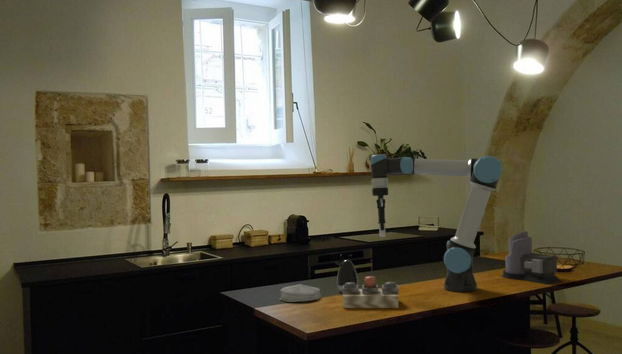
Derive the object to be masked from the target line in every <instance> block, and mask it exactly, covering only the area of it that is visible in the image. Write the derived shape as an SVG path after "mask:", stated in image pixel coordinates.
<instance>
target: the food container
mask: <svg viewBox="0 0 622 354" xmlns="http://www.w3.org/2000/svg"><path fill="white" fill-rule="evenodd" d="M320 291H321V289H320V288H319V287H315V286H311V285H305V284H301V283H299V284H295V285H288V286H284V287H283V288H281V289H280V298H279V301H282V302H286V303H287V302H289V303H293V302H294V303H297V302H308V301H309V302H310V301H316V300H318V301H319V299H321V298H322V297H321V296H322V295H321V292H320Z"/></svg>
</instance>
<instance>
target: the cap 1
mask: <svg viewBox="0 0 622 354" xmlns="http://www.w3.org/2000/svg"><path fill="white" fill-rule="evenodd" d="M345 288H355V283H354V282H347V283H345Z"/></svg>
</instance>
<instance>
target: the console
mask: <svg viewBox="0 0 622 354" xmlns="http://www.w3.org/2000/svg"><path fill="white" fill-rule="evenodd" d="M399 289H400V288H399V285H398V284H395V288H385V284H382V285H381V288H379V285H378V284H375V287H372V288H368V287H365V284H362V285H361V288H359V284H358V285H355V288H345V285H343V286H342V291H341V294H342V308H343V309H399V294H400V293H399V291H400V290H399Z"/></svg>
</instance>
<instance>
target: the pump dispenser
mask: <svg viewBox="0 0 622 354" xmlns="http://www.w3.org/2000/svg"><path fill="white" fill-rule="evenodd" d="M335 264H336V265H338V266H339V268H338V271H337V277H336V285H337V287H338V289H339V291H340V292H342V286H343V285H345V283H347V282H354V283H355V285H358V286H359V278H358V273H357V270H356V268H355V265H354V263H353V262H352V261H351V260H349V259H344V260H343V261H342V262H339V261H336V262H335Z"/></svg>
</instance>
